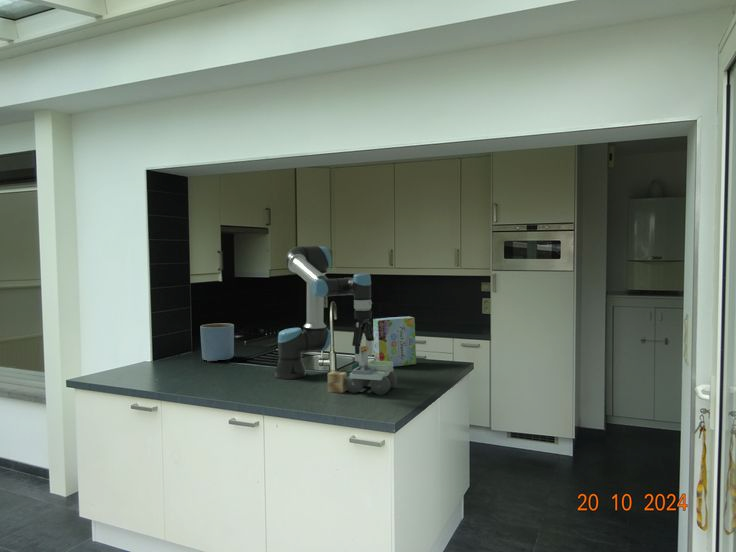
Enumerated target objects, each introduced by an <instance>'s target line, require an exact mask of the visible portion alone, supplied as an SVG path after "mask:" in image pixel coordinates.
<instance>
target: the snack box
mask: <svg viewBox="0 0 736 552" xmlns="http://www.w3.org/2000/svg"><path fill="white" fill-rule="evenodd" d="M415 322H416V321H415V317H413V316H409V315H408V316H397V317H394V316H393V317H381V318H373V319H372V325H373V327H372V331H373V336H374V341H373V353H374V360H375V361H393V368H394V367H401V366H412V365H417V351H416V349H417V347H416V346H417V345H416V323H415Z"/></svg>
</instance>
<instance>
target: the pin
mask: <svg viewBox="0 0 736 552" xmlns="http://www.w3.org/2000/svg"><path fill="white" fill-rule="evenodd" d="M360 346H361V359H362V361H361V362H360V361H358V363H359V370H363V371H368V361H369V356H368V351H367V350H368V347H367V346H366V345H360Z"/></svg>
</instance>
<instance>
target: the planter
mask: <svg viewBox="0 0 736 552" xmlns="http://www.w3.org/2000/svg"><path fill="white" fill-rule="evenodd" d="M199 328H200V329H199V330H200V346H201V359H202V360H203V361H204V360H207V362H217V361H218V360H225V359H229V360H231V359H233V358H234V357H233V356H234V355H235V353H234V351H235V349H234V348H235V343H234V342H235V324H233V323H228V322H227V323H225V322H224V323H207V324H202V325H200V327H199ZM218 362H219V361H218Z"/></svg>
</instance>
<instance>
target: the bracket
mask: <svg viewBox="0 0 736 552" xmlns="http://www.w3.org/2000/svg"><path fill="white" fill-rule="evenodd" d="M357 367H359V362H358V363H354V364H353V365H352V366H351V370H346V369H345V370H343V369H342V370H336V371H334V372H346V375H347V377H348V376H349V375H350V373H352V370H353V369H355V368H357Z"/></svg>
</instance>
